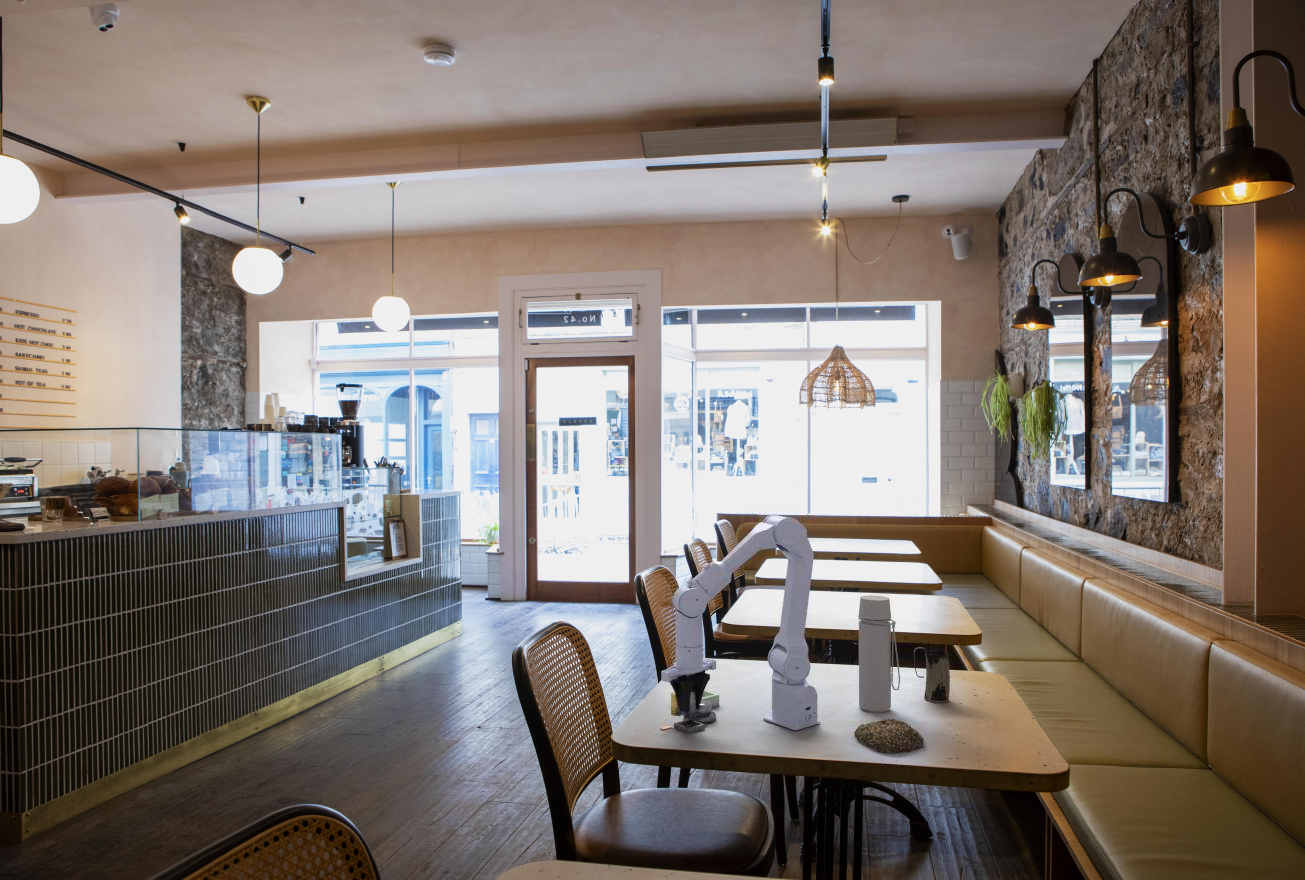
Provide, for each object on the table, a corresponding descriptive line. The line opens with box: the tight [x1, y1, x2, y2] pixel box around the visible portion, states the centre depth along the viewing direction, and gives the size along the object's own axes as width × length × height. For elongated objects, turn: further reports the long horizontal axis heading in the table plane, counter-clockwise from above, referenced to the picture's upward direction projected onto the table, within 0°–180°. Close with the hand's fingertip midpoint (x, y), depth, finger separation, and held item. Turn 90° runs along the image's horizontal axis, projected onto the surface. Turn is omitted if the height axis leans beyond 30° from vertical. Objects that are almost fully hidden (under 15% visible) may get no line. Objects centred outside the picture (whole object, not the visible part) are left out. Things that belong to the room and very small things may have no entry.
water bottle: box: [857, 594, 901, 714], centre depth 190 cm, size 9×8×25 cm
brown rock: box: [854, 717, 925, 754], centre depth 169 cm, size 13×12×5 cm
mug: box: [913, 646, 951, 705], centre depth 197 cm, size 8×6×12 cm
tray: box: [702, 689, 720, 709], centre depth 193 cm, size 7×7×2 cm
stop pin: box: [682, 689, 696, 719], centre depth 177 cm, size 3×3×6 cm
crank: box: [670, 691, 712, 717], centre depth 181 cm, size 11×5×6 cm, turn 131°
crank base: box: [659, 710, 717, 735], centre depth 180 cm, size 9×14×1 cm, turn 128°
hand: (689, 709), depth 177 cm, fingers closed on stop pin, 3 cm apart
